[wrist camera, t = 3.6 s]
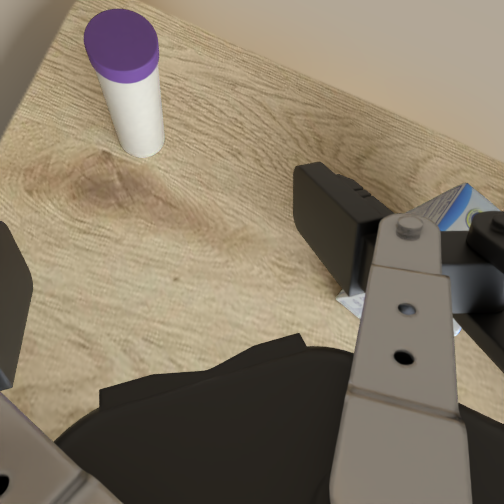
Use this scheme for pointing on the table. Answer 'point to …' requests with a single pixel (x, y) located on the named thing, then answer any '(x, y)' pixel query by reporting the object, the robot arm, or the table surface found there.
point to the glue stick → (128, 77)
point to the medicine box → (447, 219)
